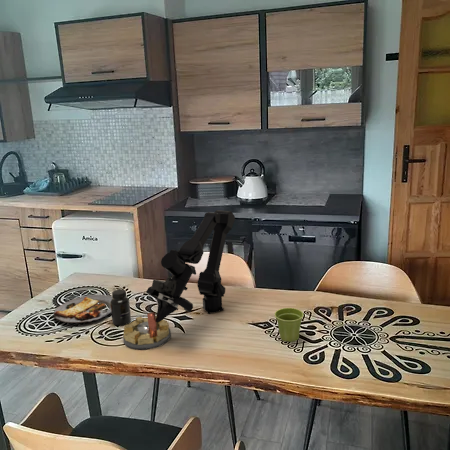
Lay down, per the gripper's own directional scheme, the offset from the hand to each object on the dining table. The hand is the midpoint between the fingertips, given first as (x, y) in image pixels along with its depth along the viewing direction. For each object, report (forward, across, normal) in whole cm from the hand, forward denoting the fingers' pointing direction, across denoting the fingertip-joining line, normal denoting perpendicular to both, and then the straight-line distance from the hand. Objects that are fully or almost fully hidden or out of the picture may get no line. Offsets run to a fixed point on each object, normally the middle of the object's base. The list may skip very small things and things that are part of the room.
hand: (156, 322), depth 148 cm
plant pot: (-15, +30, +29) cm, 44 cm away
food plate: (+7, -42, +3) cm, 43 cm away
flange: (+6, -7, +6) cm, 11 cm away
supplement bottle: (+5, -24, +6) cm, 26 cm away
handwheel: (+4, -7, +5) cm, 10 cm away
